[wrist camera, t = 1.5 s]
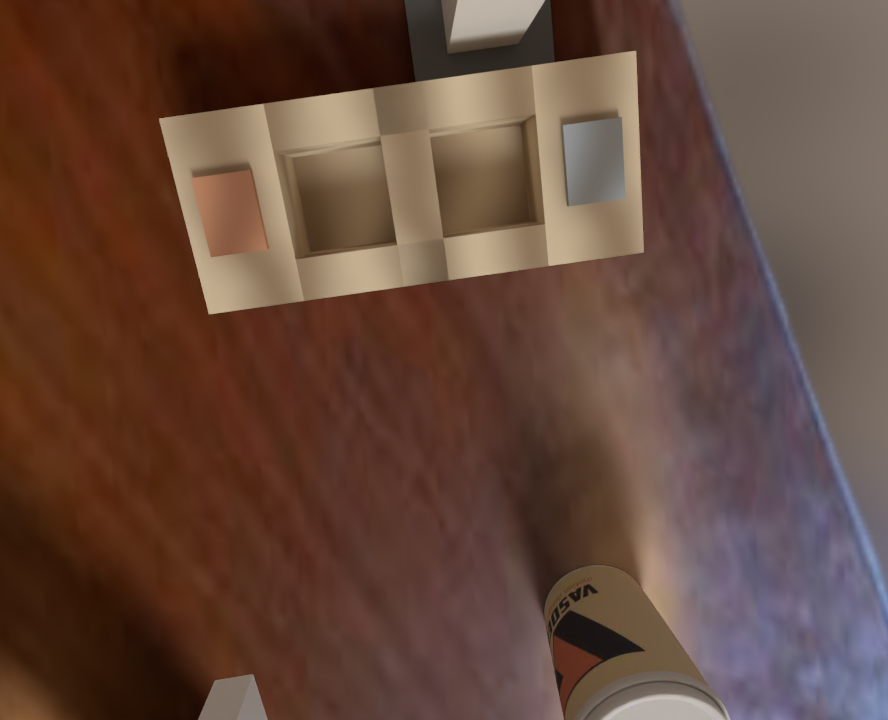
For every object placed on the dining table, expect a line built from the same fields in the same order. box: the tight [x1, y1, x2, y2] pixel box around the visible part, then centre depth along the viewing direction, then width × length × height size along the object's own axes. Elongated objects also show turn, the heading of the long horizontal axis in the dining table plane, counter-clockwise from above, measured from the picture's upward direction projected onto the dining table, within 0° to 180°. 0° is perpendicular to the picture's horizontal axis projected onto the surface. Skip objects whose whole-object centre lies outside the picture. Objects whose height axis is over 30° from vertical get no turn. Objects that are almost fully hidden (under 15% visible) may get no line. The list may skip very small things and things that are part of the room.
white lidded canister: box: [544, 565, 730, 720], centre depth 37 cm, size 9×9×12 cm
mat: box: [404, 0, 555, 82], centre depth 32 cm, size 8×8×1 cm
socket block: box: [159, 51, 644, 314], centre depth 32 cm, size 24×10×5 cm, turn 98°
